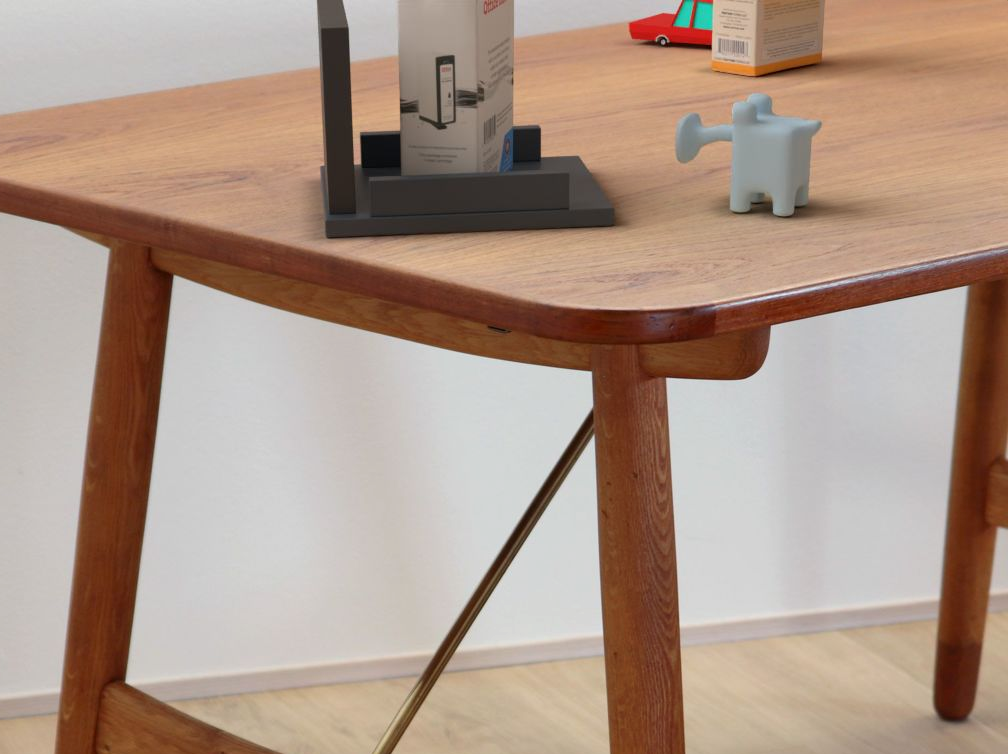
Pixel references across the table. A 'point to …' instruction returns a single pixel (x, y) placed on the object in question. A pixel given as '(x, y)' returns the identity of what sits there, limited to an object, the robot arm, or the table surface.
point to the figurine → (757, 153)
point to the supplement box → (766, 35)
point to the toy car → (678, 24)
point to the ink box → (456, 85)
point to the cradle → (438, 197)
